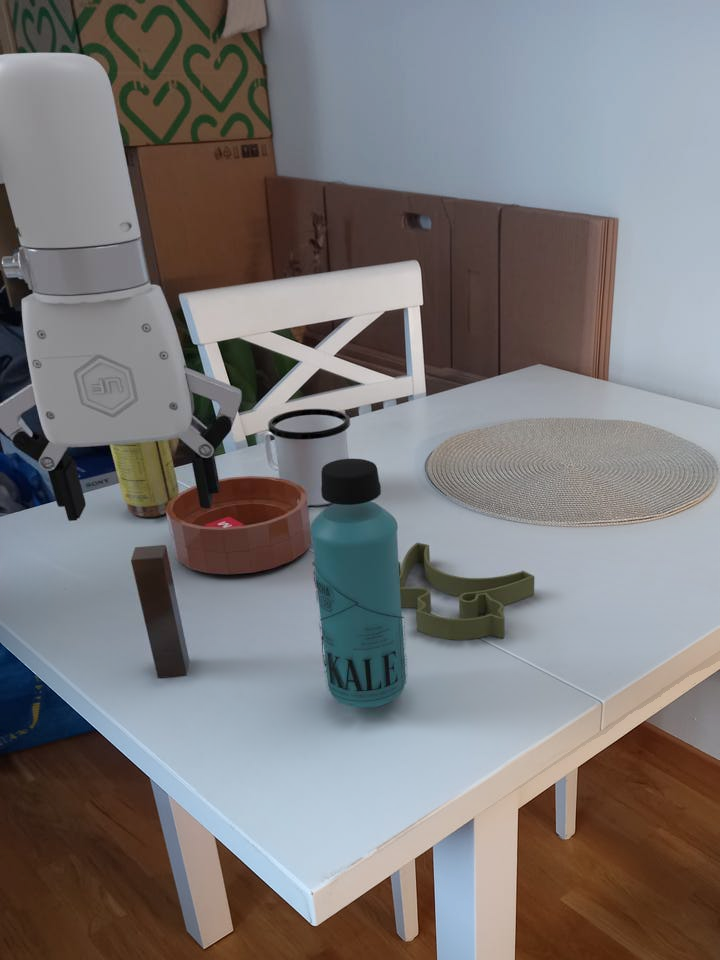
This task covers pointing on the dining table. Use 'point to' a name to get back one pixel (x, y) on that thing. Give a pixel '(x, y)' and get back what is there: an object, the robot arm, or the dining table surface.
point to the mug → (307, 447)
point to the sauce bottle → (145, 476)
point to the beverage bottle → (358, 587)
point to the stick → (160, 610)
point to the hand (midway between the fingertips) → (143, 507)
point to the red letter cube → (225, 523)
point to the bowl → (243, 549)
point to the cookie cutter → (462, 599)
